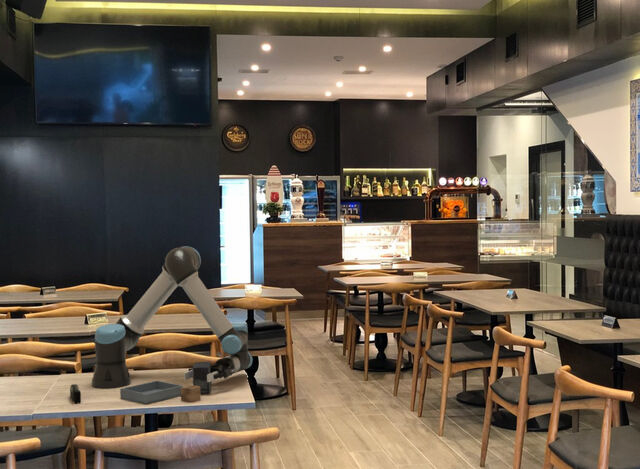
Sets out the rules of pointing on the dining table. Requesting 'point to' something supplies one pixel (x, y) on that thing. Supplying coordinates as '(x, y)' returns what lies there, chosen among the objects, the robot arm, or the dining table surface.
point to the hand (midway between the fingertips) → (195, 377)
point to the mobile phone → (75, 393)
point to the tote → (151, 392)
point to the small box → (202, 376)
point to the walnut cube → (190, 393)
